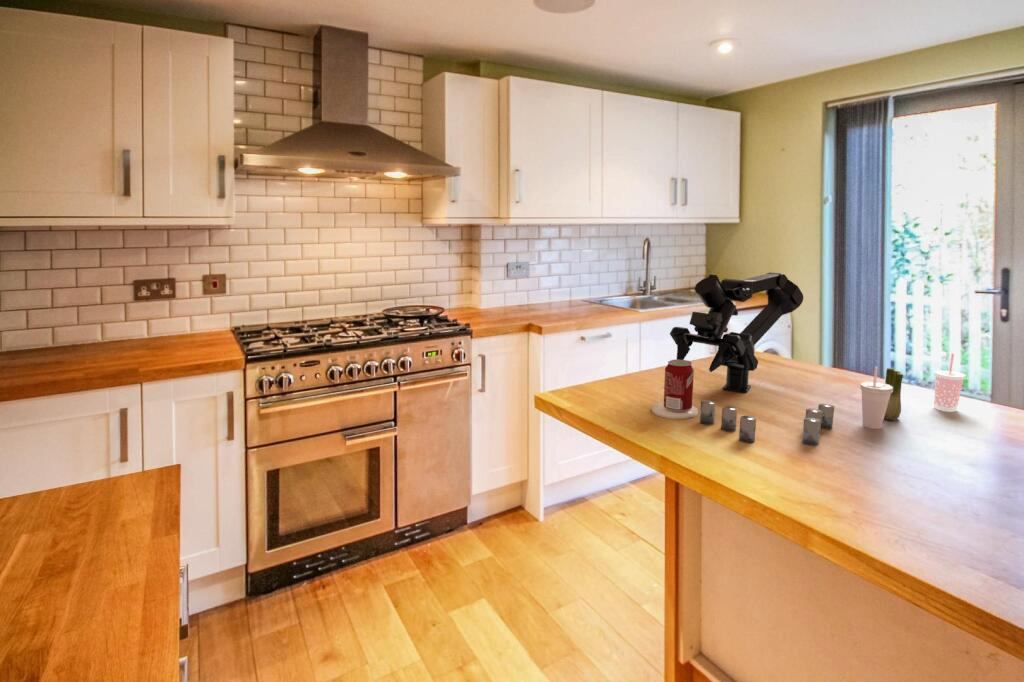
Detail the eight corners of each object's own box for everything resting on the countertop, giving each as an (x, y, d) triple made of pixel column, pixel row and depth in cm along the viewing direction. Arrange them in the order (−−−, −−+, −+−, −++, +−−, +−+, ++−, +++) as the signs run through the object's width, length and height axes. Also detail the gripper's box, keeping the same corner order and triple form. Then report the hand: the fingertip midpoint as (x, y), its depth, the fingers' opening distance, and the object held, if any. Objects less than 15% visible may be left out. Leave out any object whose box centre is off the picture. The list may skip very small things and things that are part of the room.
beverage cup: (933, 403, 155) (940, 349, 152) (962, 408, 150) (970, 353, 148) (927, 408, 150) (934, 353, 148) (957, 414, 146) (965, 357, 143)
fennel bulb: (899, 423, 140) (906, 373, 138) (875, 420, 143) (881, 370, 140) (899, 416, 145) (905, 367, 143) (875, 413, 148) (881, 365, 145)
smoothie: (849, 422, 142) (856, 363, 139) (875, 421, 142) (882, 362, 139) (867, 431, 136) (874, 370, 133) (895, 430, 136) (902, 369, 133)
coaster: (659, 402, 158) (659, 399, 158) (702, 409, 152) (702, 406, 152) (645, 414, 149) (645, 411, 149) (690, 422, 143) (690, 418, 143)
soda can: (680, 415, 145) (683, 367, 143) (657, 408, 150) (659, 361, 148) (697, 409, 149) (700, 362, 147) (674, 403, 155) (676, 357, 152)
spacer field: (698, 420, 144) (699, 400, 143) (829, 424, 140) (831, 403, 139) (709, 441, 131) (710, 419, 130) (853, 446, 127) (856, 424, 126)
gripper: (675, 296, 160) (649, 344, 155) (742, 303, 147) (717, 355, 142) (689, 321, 167) (665, 368, 162) (755, 330, 154) (732, 381, 149)
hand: (693, 367), depth 154 cm, fingers open, 9 cm apart
